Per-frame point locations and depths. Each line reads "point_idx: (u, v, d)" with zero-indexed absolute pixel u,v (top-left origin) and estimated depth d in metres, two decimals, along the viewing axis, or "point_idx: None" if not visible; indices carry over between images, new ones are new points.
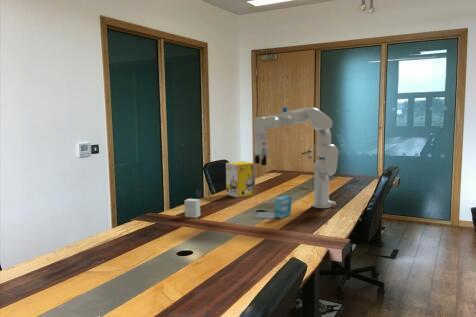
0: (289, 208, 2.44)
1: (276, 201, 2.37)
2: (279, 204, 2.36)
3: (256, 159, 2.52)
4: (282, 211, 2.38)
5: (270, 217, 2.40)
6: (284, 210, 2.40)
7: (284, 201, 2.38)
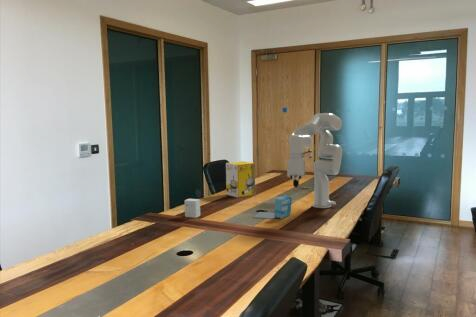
0: (289, 208, 2.44)
1: (276, 201, 2.37)
2: (279, 204, 2.36)
3: (295, 182, 2.37)
4: (282, 211, 2.38)
5: (270, 217, 2.40)
6: (284, 210, 2.40)
7: (284, 201, 2.38)
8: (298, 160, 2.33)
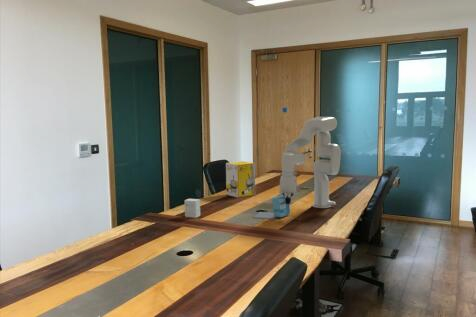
0: (288, 207, 2.45)
1: (273, 200, 2.39)
2: (277, 202, 2.37)
3: None
4: (281, 209, 2.38)
5: (270, 217, 2.40)
6: (283, 209, 2.40)
7: (281, 199, 2.40)
8: (290, 178, 2.36)
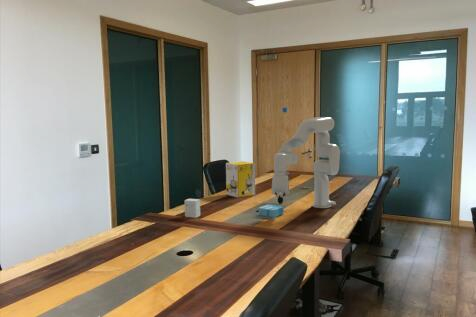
0: (276, 206, 2.50)
1: (259, 213, 2.46)
2: (261, 210, 2.44)
3: None
4: (269, 208, 2.43)
5: (270, 217, 2.40)
6: (271, 207, 2.45)
7: (262, 206, 2.48)
8: (282, 178, 2.38)
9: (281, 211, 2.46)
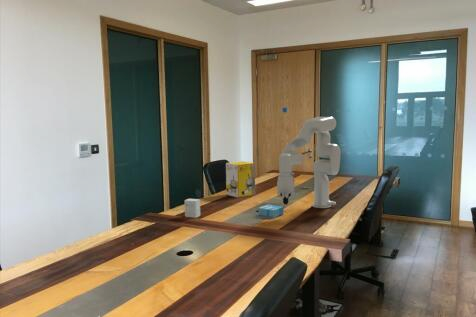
0: (276, 206, 2.50)
1: (259, 213, 2.46)
2: (261, 210, 2.44)
3: None
4: (269, 208, 2.43)
5: (270, 217, 2.40)
6: (271, 207, 2.45)
7: (262, 206, 2.48)
8: (287, 178, 2.37)
9: (281, 211, 2.46)
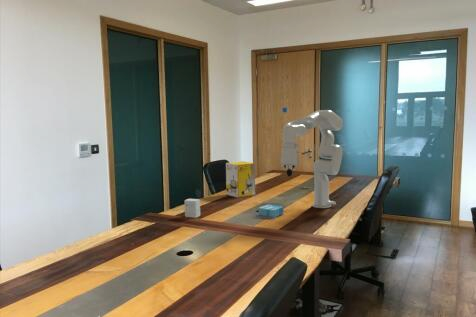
0: (276, 206, 2.50)
1: (259, 213, 2.46)
2: (261, 210, 2.44)
3: None
4: (269, 208, 2.43)
5: (270, 217, 2.40)
6: (271, 207, 2.45)
7: (262, 206, 2.48)
8: (291, 149, 2.35)
9: (281, 211, 2.46)
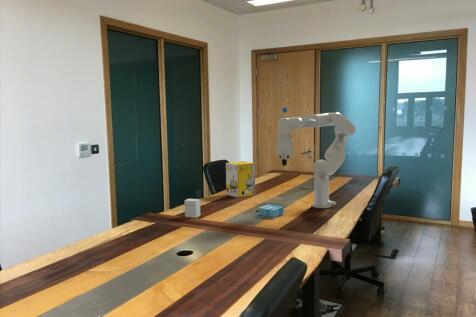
0: (276, 206, 2.50)
1: (259, 213, 2.46)
2: (261, 210, 2.44)
3: None
4: (269, 208, 2.43)
5: (270, 217, 2.40)
6: (271, 207, 2.45)
7: (262, 206, 2.48)
8: (286, 141, 2.53)
9: (281, 211, 2.46)
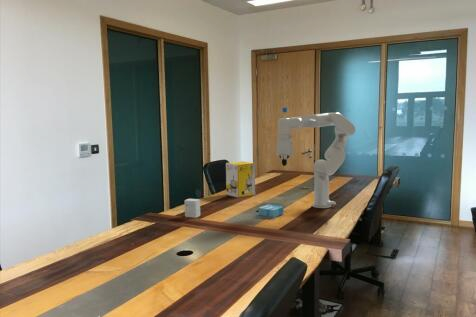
0: (276, 206, 2.50)
1: (259, 213, 2.46)
2: (261, 210, 2.44)
3: None
4: (269, 208, 2.43)
5: (270, 217, 2.40)
6: (271, 207, 2.45)
7: (262, 206, 2.48)
8: (286, 141, 2.53)
9: (281, 211, 2.46)
